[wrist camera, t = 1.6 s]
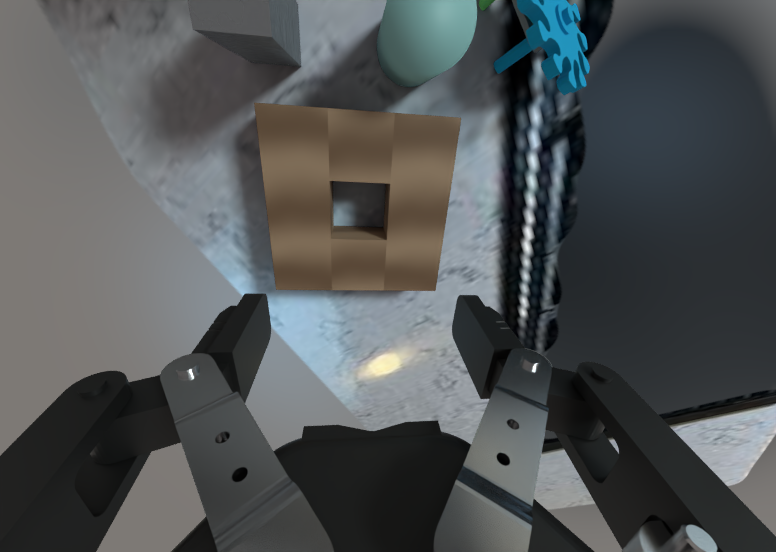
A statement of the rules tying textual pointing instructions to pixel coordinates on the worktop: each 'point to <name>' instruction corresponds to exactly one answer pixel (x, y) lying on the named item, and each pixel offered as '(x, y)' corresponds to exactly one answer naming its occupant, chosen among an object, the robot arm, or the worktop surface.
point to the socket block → (355, 164)
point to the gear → (550, 41)
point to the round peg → (424, 38)
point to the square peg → (251, 28)
